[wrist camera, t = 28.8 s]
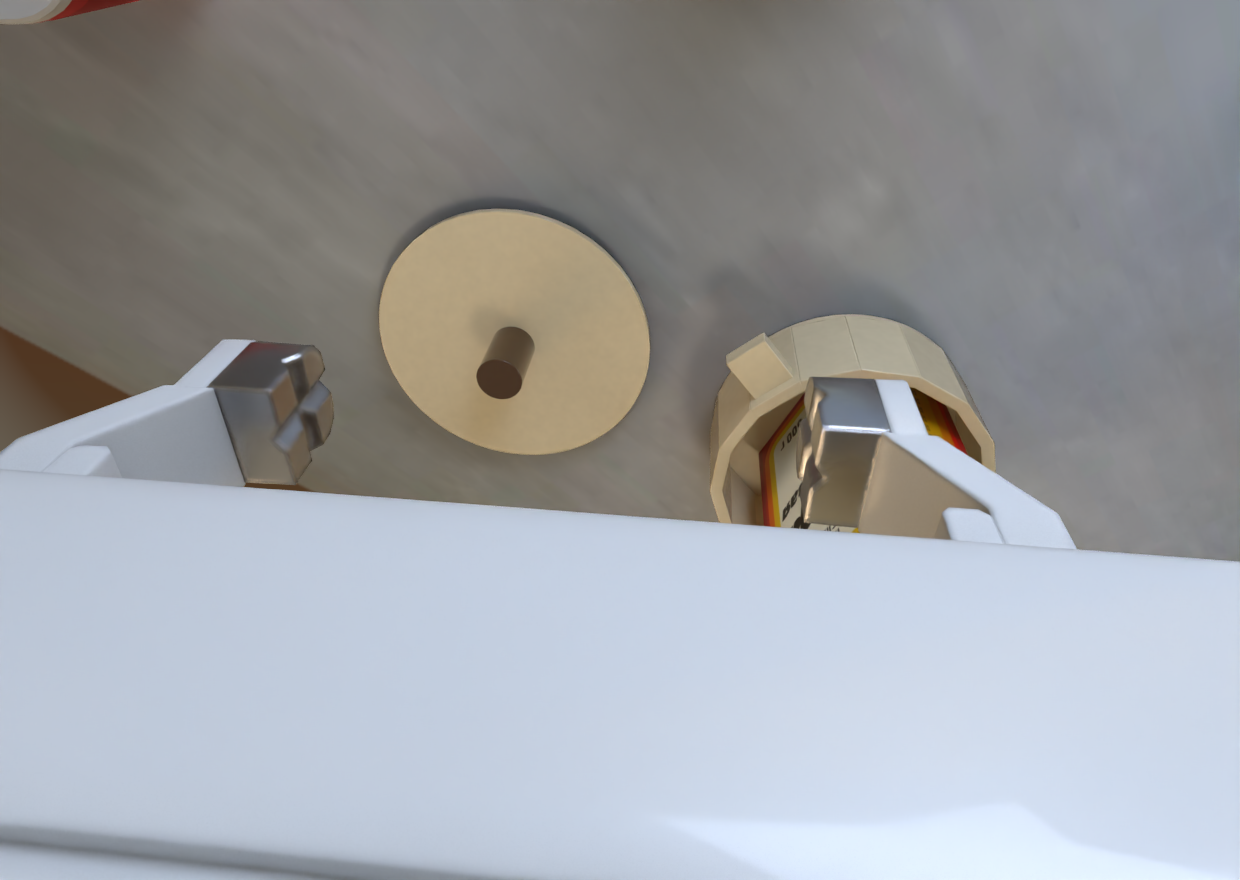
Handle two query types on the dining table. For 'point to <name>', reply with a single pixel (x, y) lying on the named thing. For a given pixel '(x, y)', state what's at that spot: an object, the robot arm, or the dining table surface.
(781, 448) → the baking soda box
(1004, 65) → the dining table surface
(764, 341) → the pan
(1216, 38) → the dining table surface
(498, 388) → the pan lid
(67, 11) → the canned food
